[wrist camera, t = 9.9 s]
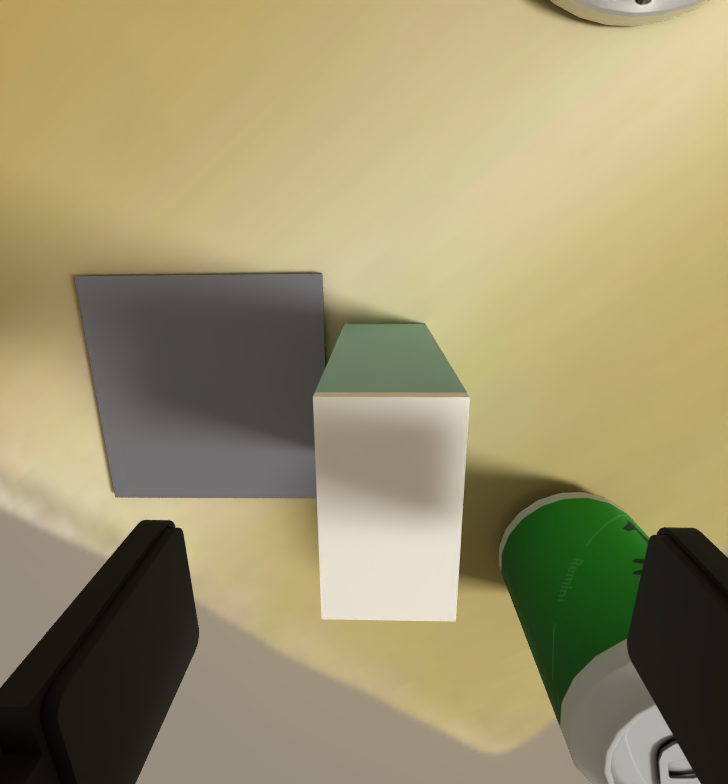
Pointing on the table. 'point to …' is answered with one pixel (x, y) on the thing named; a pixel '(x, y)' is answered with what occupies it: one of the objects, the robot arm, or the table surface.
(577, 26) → the table surface
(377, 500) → the teal block
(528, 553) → the soda can
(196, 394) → the rubber mat
